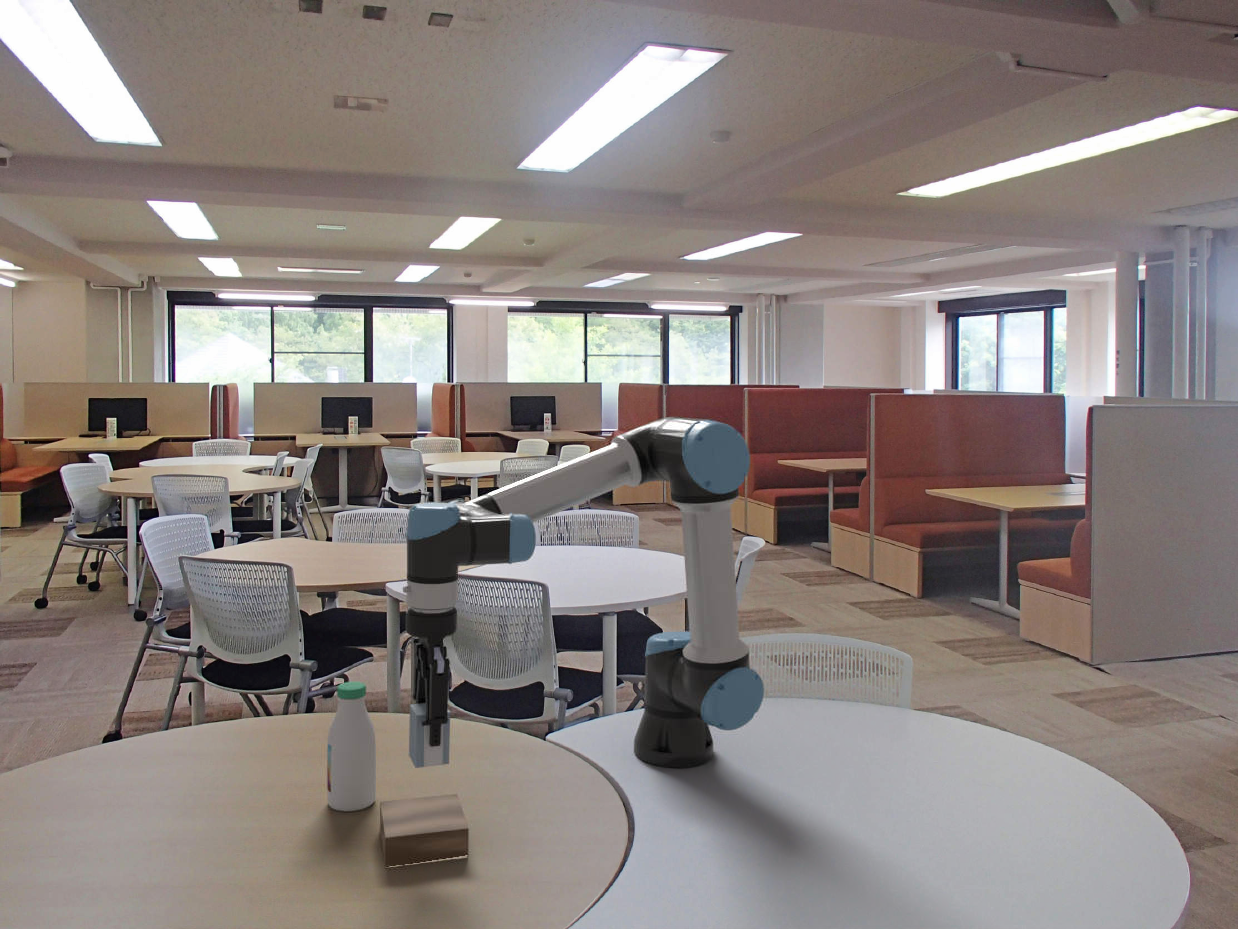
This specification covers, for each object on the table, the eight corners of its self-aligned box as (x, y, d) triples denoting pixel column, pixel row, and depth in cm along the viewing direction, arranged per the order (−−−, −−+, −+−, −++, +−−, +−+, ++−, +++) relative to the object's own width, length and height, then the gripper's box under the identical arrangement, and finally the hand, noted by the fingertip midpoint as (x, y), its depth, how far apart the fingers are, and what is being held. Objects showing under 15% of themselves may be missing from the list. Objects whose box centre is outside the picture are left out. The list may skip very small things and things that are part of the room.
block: (408, 755, 150) (409, 704, 149) (441, 751, 152) (442, 701, 151) (415, 768, 146) (416, 715, 145) (448, 764, 148) (450, 712, 147)
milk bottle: (385, 798, 165) (385, 682, 163) (354, 817, 158) (354, 696, 156) (348, 788, 168) (348, 675, 166) (317, 806, 161) (316, 688, 159)
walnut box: (380, 832, 154) (380, 801, 153) (457, 824, 157) (457, 794, 157) (385, 870, 142) (385, 837, 142) (468, 860, 146) (468, 828, 145)
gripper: (395, 594, 153) (392, 739, 156) (419, 624, 137) (416, 785, 139) (442, 592, 156) (439, 734, 159) (471, 620, 140) (468, 778, 142)
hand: (428, 757), depth 149 cm, fingers closed on block, 5 cm apart
